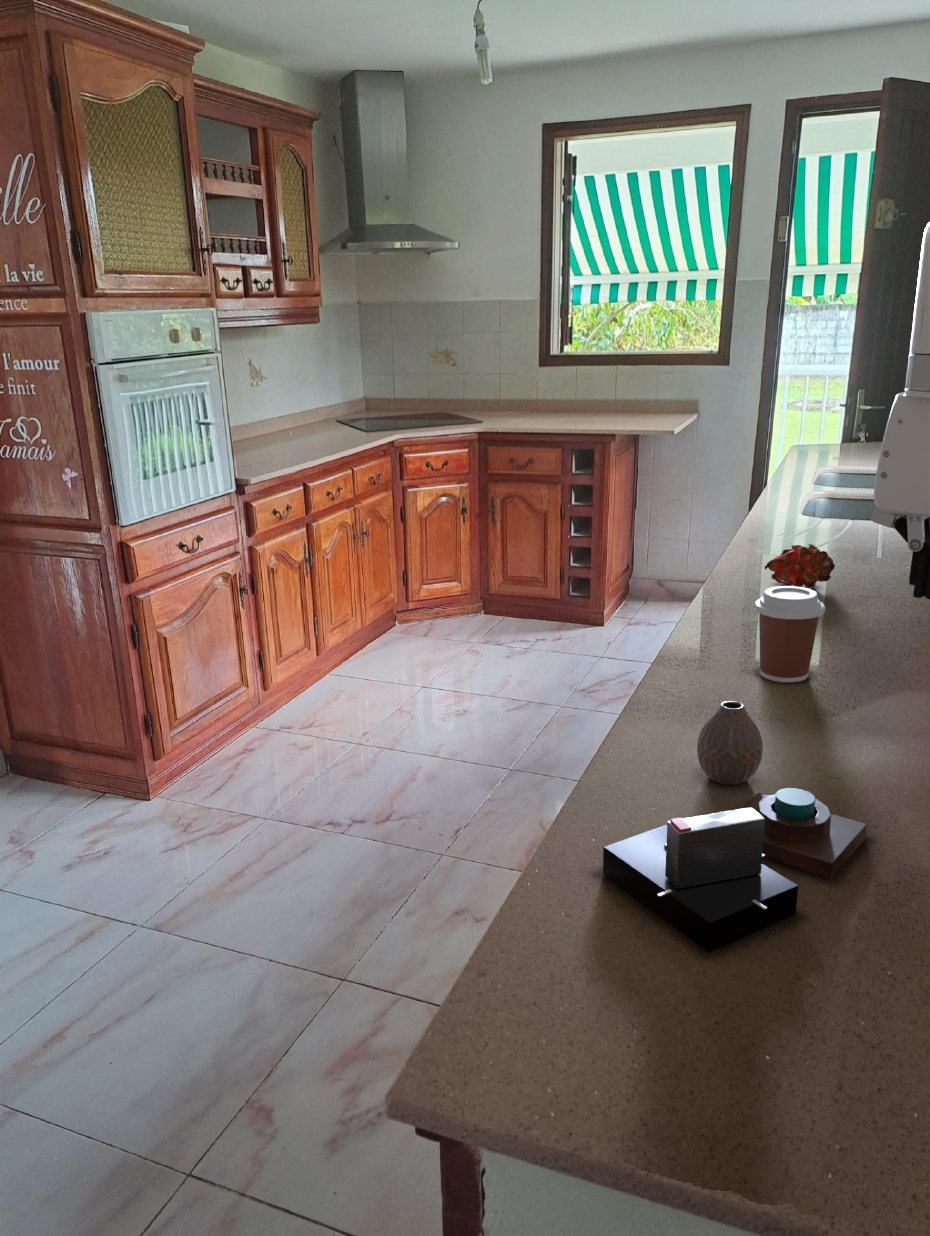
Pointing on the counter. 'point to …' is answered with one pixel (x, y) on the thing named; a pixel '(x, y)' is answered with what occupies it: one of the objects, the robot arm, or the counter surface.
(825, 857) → the brown square base
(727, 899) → the black rectangular base
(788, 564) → the dragon fruit
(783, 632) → the coffee cup
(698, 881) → the metal block
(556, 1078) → the counter surface
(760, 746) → the vase
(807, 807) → the button
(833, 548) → the counter surface
